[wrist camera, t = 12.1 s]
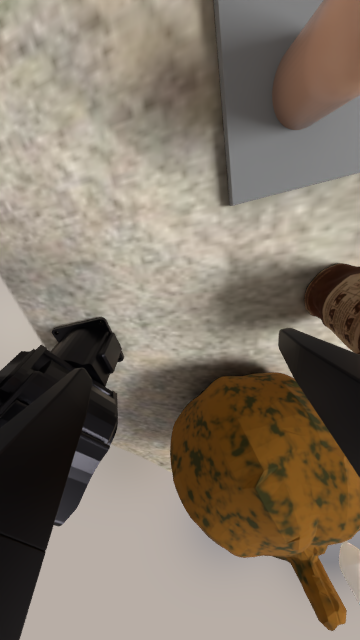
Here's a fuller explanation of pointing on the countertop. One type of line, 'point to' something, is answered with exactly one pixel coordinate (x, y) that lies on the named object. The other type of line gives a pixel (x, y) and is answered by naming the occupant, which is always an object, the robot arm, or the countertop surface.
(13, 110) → the countertop surface
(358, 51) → the terracotta canister
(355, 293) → the coffee cup
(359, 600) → the champagne flute
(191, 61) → the countertop surface
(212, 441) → the decorative pumpkin
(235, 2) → the mat
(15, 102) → the countertop surface
